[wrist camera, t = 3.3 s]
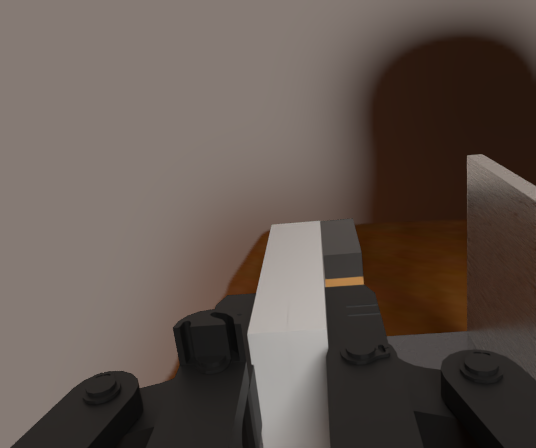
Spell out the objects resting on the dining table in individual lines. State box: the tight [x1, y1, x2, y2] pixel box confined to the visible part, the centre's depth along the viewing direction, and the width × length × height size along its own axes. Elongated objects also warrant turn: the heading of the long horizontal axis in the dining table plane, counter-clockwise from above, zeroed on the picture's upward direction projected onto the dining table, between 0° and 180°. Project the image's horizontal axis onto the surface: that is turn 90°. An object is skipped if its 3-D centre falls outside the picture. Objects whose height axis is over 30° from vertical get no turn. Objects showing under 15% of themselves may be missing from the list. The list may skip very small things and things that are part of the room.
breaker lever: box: [267, 219, 364, 287], centre depth 28 cm, size 5×4×13 cm
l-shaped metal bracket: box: [260, 154, 536, 448], centre depth 27 cm, size 26×17×16 cm, turn 176°
